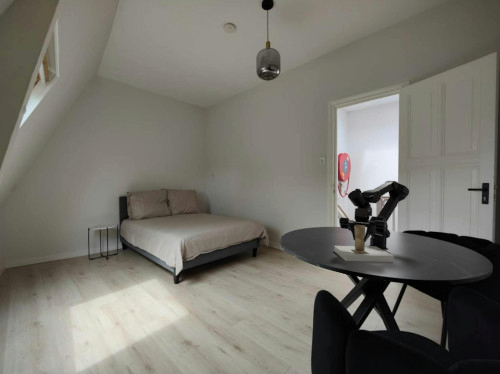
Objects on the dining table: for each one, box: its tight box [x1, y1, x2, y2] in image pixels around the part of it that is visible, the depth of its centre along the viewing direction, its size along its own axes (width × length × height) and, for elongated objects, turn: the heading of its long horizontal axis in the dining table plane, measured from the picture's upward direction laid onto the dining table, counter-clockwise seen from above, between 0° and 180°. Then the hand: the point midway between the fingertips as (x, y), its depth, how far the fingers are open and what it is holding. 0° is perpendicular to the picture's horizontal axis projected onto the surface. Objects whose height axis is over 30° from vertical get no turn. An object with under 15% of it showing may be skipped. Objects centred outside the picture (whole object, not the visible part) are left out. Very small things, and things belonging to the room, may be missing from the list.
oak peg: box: [354, 225, 366, 254], centre depth 102 cm, size 4×4×13 cm
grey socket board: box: [333, 245, 395, 263], centre depth 104 cm, size 20×14×2 cm
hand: (359, 240), depth 101 cm, fingers closed on oak peg, 4 cm apart
